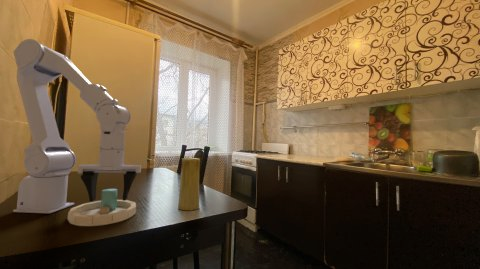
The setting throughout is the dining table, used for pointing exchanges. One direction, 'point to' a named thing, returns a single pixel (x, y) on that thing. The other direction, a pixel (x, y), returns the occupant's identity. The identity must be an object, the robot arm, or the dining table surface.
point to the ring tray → (100, 213)
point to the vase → (189, 184)
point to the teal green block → (109, 198)
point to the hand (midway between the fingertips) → (109, 200)
